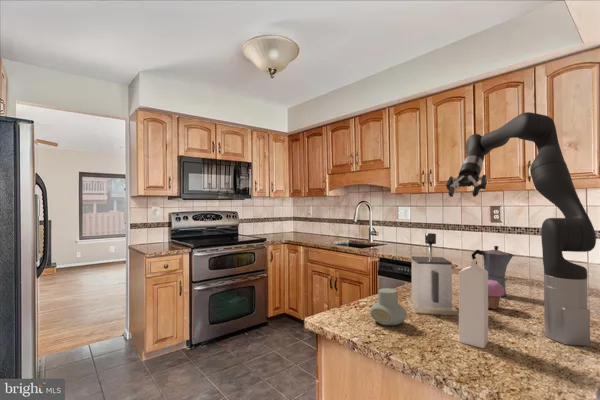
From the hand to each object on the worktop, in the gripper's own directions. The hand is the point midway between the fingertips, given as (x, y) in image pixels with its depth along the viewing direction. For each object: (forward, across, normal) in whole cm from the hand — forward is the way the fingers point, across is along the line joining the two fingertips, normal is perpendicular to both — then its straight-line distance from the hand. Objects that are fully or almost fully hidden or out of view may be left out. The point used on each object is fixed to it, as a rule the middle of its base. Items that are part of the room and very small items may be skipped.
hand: (462, 195), depth 125 cm
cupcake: (+32, +10, +26) cm, 42 cm away
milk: (+57, +15, +1) cm, 59 cm away
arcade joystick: (+42, -5, +15) cm, 45 cm away
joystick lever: (+41, -5, +14) cm, 43 cm away
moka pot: (+18, +7, +40) cm, 44 cm away
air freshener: (+59, -8, -2) cm, 60 cm away
